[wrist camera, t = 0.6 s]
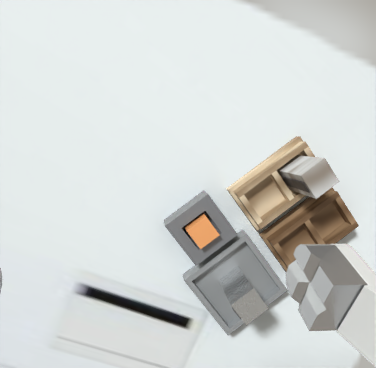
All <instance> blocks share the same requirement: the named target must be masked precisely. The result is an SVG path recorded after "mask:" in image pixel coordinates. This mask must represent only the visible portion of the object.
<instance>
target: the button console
mask: <svg viewBox="0 0 376 368" xmlns="http://www.w3.org/2000/svg"><path fill="white" fill-rule="evenodd" d="M202 213H204V214H205V216H206V217H207V218H208V220H209V221H210V222H211V224H212V225H213V226H214V228H215V229H216V231H217V232H218V233H219V236H218V237H217V238H215V239H214V240H212V241H211V242H210V243H208V244H207V245H206V246H204V247H203V248H202V249H200V248H199V246H198V245H197V244H196V243H195V241H194V240H193V239H192V237H191V236H190V235H189V233H188V232H187V231H186V228H185V226H186V225H187V224H188V223H190V222H191V221H192V220H194V219H195V218H196V217H198V216H199V215H200V214H202ZM164 223H165V227H166V228H167V229H168V231H169V232H170V233H171V234H172V236H173V237H174V238H175V239H176V241H177V242H178V243H179V245H180V246H181V247H182V248H183V250H184V251H185V252H186V254H187V255H188V256H189V257H190V259H191V260H192V261H193V263H194V264H195V265H196V266H197V265H198V264H199V263H201V262H202V261H203V260H205V259H206V258H207V257H209V256H210V255H211V254H213V253H214V252H215V251H217V250H218V249H219V248H221V247H222V246H223V245H225V244H226V243H227V242H229V241H230V240H231V239H233V238H234V237H235V236H237V233H236V232H235V231H234V229H233V228H232V226H231V225H230V224H229V222H228V221H227V220H226V218H225V217H224V215H223V214H222V213H221V211H220V210H219V209H218V207H217V206H216V205H215V203H214V202H213V200H212V199H211V198H210V196H209V195H208V194H207V193H206V192H205V191H202V192H201V193H200V194H198V195H197V196H196V197H194V198H193V199H192V200H190V201H189V202H188V203H186V204H185V205H184V206H182V207H181V208H180V209H178V210H177V211H176V212H174V213H173V214H172V215H170V216H169V217H168V218H166V219H165V220H164Z"/></svg>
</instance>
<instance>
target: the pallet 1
mask: <svg viewBox="0 0 376 368" xmlns="http://www.w3.org/2000/svg"><path fill="white" fill-rule="evenodd" d="M338 182H339V180H338V178H337V177H336V175H335V174H334V172H333V170H332V169H331V167H330V166H329V164H328V162H327V161H326V159H325V158H319V157H315V156H314V154H313V153H312V151H311V150H310V148H309V146H308V145H307V143H306V142H303V140H302V139H301V137H295V138H294V139H292V140H291V141H290V142H288V143H287V144H286V145H284V146H283V147H282V148H280V149H279V150H278V151H276V152H275V153H274V154H272V155H271V156H270V157H268V158H267V159H265V160H264V161H263V162H261V163H260V164H259V165H257V166H256V167H255V168H253V169H252V170H251V171H249V172H248V173H247V174H245V175H244V176H243V177H241V178H240V179H239V180H237V181H236V182H235V183H233V184H232V185H231V186H229V187H228V188H227V190H228V192H229V193H230V194H231V196H232V197H233V199H234V200H235V202H236V203H237V204H238V206H239V207H240V209H241V210H242V211H243V213H244V214H245V216H246V217H247V218H248V220H249V221H250V223H251V224H252V225H253V227H254V228H255V229H256V230H257V231H258V230H259V229H260V228H261V229H262V228H263V227H265V226H266V225H267V224H269V223H270V222H271V221H273V220H274V219H275V218H277V217H278V216H279V215H281V214H282V213H283V212H285V211H286V210H287V209H289V208H290V207H291V206H293V205H294V204H295V203H297V202H298V201H299V200H301V199H302V198H303V197H305V196H309V197H312V198H315V199H317V198H318V197H320V196H321V195H322V194H324V193H325V192H326V191H328V190H329V189H330V188H332V187H333V186H334V185H336V184H337V183H338Z"/></svg>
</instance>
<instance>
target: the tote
mask: <svg viewBox="0 0 376 368" xmlns="http://www.w3.org/2000/svg"><path fill="white" fill-rule="evenodd" d="M237 266H238V267H239V268H240V269H241V271H242V272H243V273H244V275H245V276H246V277H247V279H248V280H249V281H250V283H251V284H252V286H253V287H254V288H255V290H256V291H257V293H258V294H259V296H260V297H261V298H262V300H263V301H264V303H265V304H266V305H267V306H268V305H269V304H270V303H272V302H273V301H274V300H276V299H277V298H278V297H280V296H281V295H282V294H284V293H285V292H286V291H288V290H287V289H286V287H285V286H284V285H283V283H282V282H281V281H280V279H279V278H278V276H277V275H276V274H275V272H274V271H273V269H272V268H271V267H270V265H269V264H268V263H267V261H266V260H265V258H264V257H263V256H262V254H261V253H260V251H259V250H258V249H257V247H256V246H255V245H254V243H253V242H252V240H251V239H250V238H249V236H248V235H247V234H246V233H245V232H244V231H243V230H242V231H240V232H239V233H238V234H237V236H235V237H234V238H233V239H231V240H230V241H229V242H227V243H226V244H225V245H223V246H222V247H221V248H219V249H218V250H217V251H215V252H214V253H213V254H211V255H210V256H209V257H207V258H206V259H205V260H203V261H202V262H201V263H199V264H198V265H197V266H196V265H195V266H193V267H192V268H191V269H189V270H188V271H187V272H185V273H184V274H183V278H184V281H185V282H186V284H187V285H188V286H189V287H190V289H191V290H192V291H193V292H194V294H195V295H196V296H197V297H198V299H199V300H200V301H201V302H202V304H203V305H204V306H205V307H206V309H207V310H208V311H209V312H210V314H211V315H212V316H213V317H214V319H215V320H216V321H217V322H218V324H219V325H220V326H221V327H222V329H223V330H224V331H225V332H226V334H227V335H229V334H231V333H232V332H233V331H235V330H236V329H237V328H239V327H240V326H241V325H243V324H244V322H243V320H242V319H240V318H239V317H238V315H237V314H236V313H235V312H234V310H233V308H232V306H231V305H230V303H229V301H228V299H227V297H226V295H225V293H224V290H223V288H222V286H221V284H220V282H219V280H220V279H221V278H222V277H224V276H225V275H226V274H228V273H229V272H230V271H232V270H233V269H234V268H236V267H237Z"/></svg>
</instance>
